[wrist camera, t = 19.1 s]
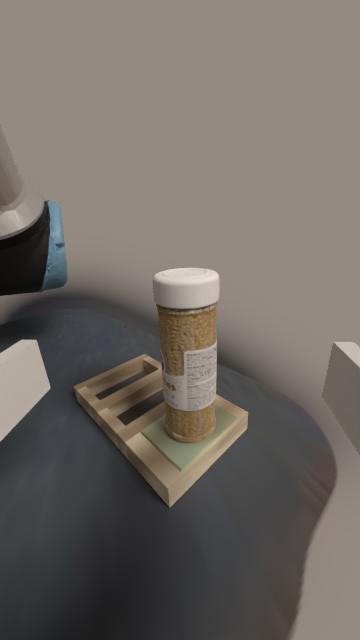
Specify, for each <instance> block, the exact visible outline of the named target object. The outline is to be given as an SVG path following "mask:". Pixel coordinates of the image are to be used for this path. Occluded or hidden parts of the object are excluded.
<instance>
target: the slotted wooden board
mask: <svg viewBox="0 0 360 640" xmlns="http://www.w3.org/2000/svg"><path fill="white" fill-rule="evenodd" d="M74 391H75V395H76V399H77V401H78V402H79V404H80V405H81V406H82V407H83V408H84V409H85V410H86V412H87V413H88V414H89V415H90V416H91V417H92V419H93V420H94V421H95V422H96V423H97V424H98V425H99V427H100V428H101V429H102V430H103V431H104V432H105V434H106V435H107V436H108V437H109V438H110V439H111V440H112V442H113V443H114V444H115V445H116V446H117V447H118V449H119V450H120V451H121V452H122V453H123V454H124V455H125V457H126V458H127V459H128V460H129V461H130V462H131V464H132V465H133V466H134V467H135V468H136V469H137V470H138V472H139V473H140V474H141V475H142V476H143V477H144V479H145V480H146V481H147V482H148V483H149V484H150V485H151V487H152V488H153V489H154V490H155V491H156V492H157V494H158V495H159V496H160V497H161V498H162V499H163V501H164V502H165V503H166V504H167V505H168V506H169V507H171V506H172V505H173V504H174V503H175V502H176V501H177V500H178V499H179V498H180V497H181V496H182V495H183V494H184V493H185V492H186V491H187V490H188V489H189V488H190V487H191V486H192V485H193V484H194V483H195V482H196V481H197V479H198V478H199V477H200V476H201V475H202V474H203V473H204V472H205V471H206V470H207V469H208V468H209V467H210V466H211V465H212V464H213V463H214V462H215V461H216V460H217V459H218V458H219V457H220V456H221V455H222V454H223V453H224V452H225V451H226V450H227V449H228V448H229V447H230V446H231V445H232V444H233V442H234V441H235V440H236V439H237V438H238V437H239V436H240V435H241V434H242V433H243V432H244V431H245V430H246V429H247V421H248V412H246V411H245V410H243V409H241V408H239V407H238V406H236V405H234V404H232V403H230V402H229V401H227V400H225V399H223V398H222V397H220V396H218V395H216V397H215V414H214V415H215V418H216V426H215V429H214V432H213V433H212V434H211V435H210V436H209V437H208V438H206V439H204V440H202V441H199V442H193V443H187V442H182V441H179V440H176V439H175V438H174V437H172V436H171V435H170V434H169V433H168V431H167V429H166V427H165V416H166V411H165V398H164V395H163V381H162V365H161V363H160V362H158V361H156V360H154V359H153V358H151V357H149V356H147V355H146V354H143V355H141V356H139V357H137V358H135V359H133V360H130V361H128V362H126V363H124V364H122V365H119V366H117V367H115V368H113V369H111V370H109V371H106V372H104V373H102V374H100V375H98V376H96V377H93V378H91V379H89V380H87V381H85V382H82V383H80V384H78V385H76V386H74Z"/></svg>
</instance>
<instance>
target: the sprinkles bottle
mask: <svg viewBox="0 0 360 640" xmlns="http://www.w3.org/2000/svg"><path fill="white" fill-rule="evenodd" d="M153 293H154V301H155V302H156V306H157V309H158V316H159V331H160V353H161V365H162V381H163V395H164V398H165V411H166V416H165V427H166V429H167V431H168V433H169V434H170V435H171V436H172V437H174V438H175V439H176V440H179V441H182V442H187V443H193V442H199V441H202V440H204V439H206V438H208V437H209V436H210V435H211V434H212V433H213V432H214V429H215V426H216V418H215V415H214V414H215V397H216V365H217V338H216V306H217V301H218V299H219V275H218V274H217V273H216V272H215V271H213V270H209V269H201V268H179V269H171V270H165V271H162V272H159V273H157V274H155V275H154V277H153Z"/></svg>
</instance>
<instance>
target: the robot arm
mask: <svg viewBox="0 0 360 640" xmlns="http://www.w3.org/2000/svg"><path fill="white" fill-rule="evenodd" d="M67 280H68V272H67V263H66V254H65V245H64V236H63V226H62V217H61V209H60V206H59V204H58V203H56V202H51V201H49V200H47V201H45V202H44V199H43V195H42V193H41V191H40V189H39V188H38V187H37V185H36V184H35V183H34V182H33V181H31V180H30V179H29V178H27V177H25V176H23V175H22V174H19V172H18V169H17V167H16V164H15V162H14V159H13V157H12V154H11V152H10V149H9V146H8V144H7V141H6V139H5V136H4V133H3V131H2V128H1V126H0V296H3V295H12V294H22V293H33V292H43V291H44V290H49V289H55V288H60V287H62V286H64V285H65V284H66V283H67ZM49 389H50V384H49V381H48V377H47V374H46V371H45V367H44V364H43V360H42V357H41V354H40V350H39V347H38V343H37V340H21V341H19V342H17V343H16V344H14V345H13V346H11V347H10V348H8V349H6V350H5V351H3V352H2V353H0V441H1V440H2V439H3V438H4V437H5V436H6V435H7V434H8V433H9V432H10V431H11V430H12V429H13V428H14V427H15V425H16V424H17V423H18V422H19V421H20V420H21V419H22V418H23V417H24V416H25V415H26V414H27V413H28V412H29V411H30V410H31V409H32V407H33V406H34V405H35V404H36V403H37V402H38V401H39V400H40V399H41V398H42V397H43V396H44V395H45V394H46V393H47V392H48V390H49ZM322 397H323V399H324V401H325V402H326V404H327V405H328V407H329V408H330V410H331V411H332V413H333V414H334V416H335V417H336V419H337V420H338V422H339V424H340V425H341V426H342V428H343V430H344V431H345V433H346V434H347V436H348V438H349V439H350V441H351V442H352V444H353V445H354V446H355V448H356V450H357V451H358V453H359V455H360V347H359V346H358V345H356V344H355V343H354V342H333V346H332V351H331V356H330V361H329V365H328V370H327V375H326V380H325V385H324V389H323V395H322Z"/></svg>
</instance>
